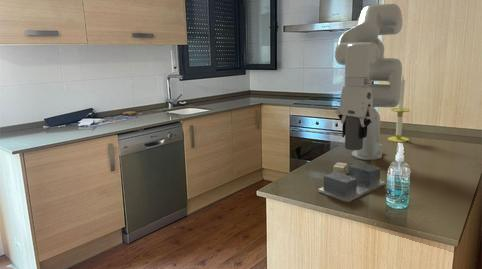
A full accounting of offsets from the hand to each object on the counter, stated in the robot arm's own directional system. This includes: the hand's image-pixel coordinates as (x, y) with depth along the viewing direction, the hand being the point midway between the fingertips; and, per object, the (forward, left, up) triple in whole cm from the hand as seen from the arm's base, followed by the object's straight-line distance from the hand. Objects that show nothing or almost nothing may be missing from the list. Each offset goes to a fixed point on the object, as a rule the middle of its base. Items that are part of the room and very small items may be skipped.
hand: (354, 135), depth 125 cm
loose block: (-8, -11, -19) cm, 24 cm away
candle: (-69, -21, -19) cm, 75 cm away
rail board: (0, 0, -19) cm, 19 cm away
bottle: (0, 0, -5) cm, 5 cm away
